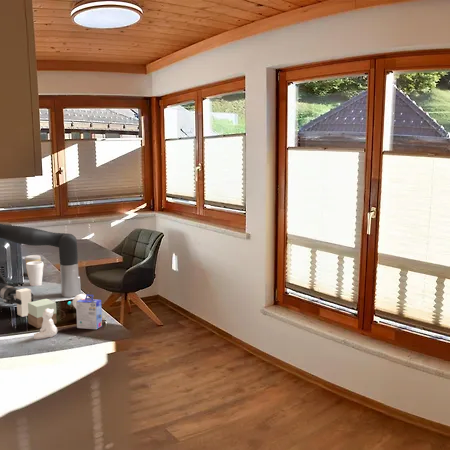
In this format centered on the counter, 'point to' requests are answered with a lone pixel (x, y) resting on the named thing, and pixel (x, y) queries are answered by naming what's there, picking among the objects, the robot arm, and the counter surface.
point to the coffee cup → (32, 258)
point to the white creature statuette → (47, 325)
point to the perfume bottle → (77, 299)
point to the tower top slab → (41, 307)
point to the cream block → (23, 301)
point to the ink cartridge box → (89, 313)
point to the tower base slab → (38, 320)
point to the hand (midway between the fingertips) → (26, 301)
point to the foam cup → (35, 272)
